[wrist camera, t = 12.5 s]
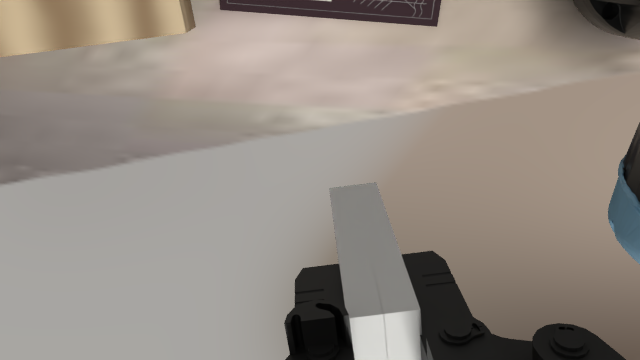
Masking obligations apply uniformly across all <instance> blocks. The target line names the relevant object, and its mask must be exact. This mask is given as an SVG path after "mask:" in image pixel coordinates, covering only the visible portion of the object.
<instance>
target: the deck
mask: <svg viewBox="0 0 640 360" xmlns="http://www.w3.org/2000/svg"><path fill="white" fill-rule="evenodd" d="M195 27H196V26H195V21H194V17H193V12H192V7H191V2H190V0H0V57H5V56H13V55H21V54H28V53H36V52H44V51H52V50H59V49H67V48H75V47H82V46H90V45H98V44H105V43H113V42H121V41H128V40H136V39H144V38H151V37H159V36H167V35H174V34H182V33H187V32H188V31H190V30H191V29H193V28H195Z"/></svg>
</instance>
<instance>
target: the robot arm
mask: <svg viewBox="0 0 640 360" xmlns="http://www.w3.org/2000/svg"><path fill="white" fill-rule="evenodd" d="M573 2H574V4H575V6H576V7H577V8H578V10H579V11H580V12H581V14H582V15H583V16H584V17H585V18H586V19H587V20H588V21H590V22H591V23H592V24H593V25H595V26H596V27H598V28H600V29H602V30H604V31H606V32H608V33H611V34H615V35H619V36H623V37H628V38H632V39H639V40H640V0H573ZM618 176H619V177H618V180H617V183H616V186H615V189H614V192H613V195H612V198H611V201H610V204H609V208H608V219H609V223H610V225H611V228H612V230H613V231H614V233H615V236H616V239H617V240H618V241H619V243H620V244H621V245H622V247H623V248H624V249H625V250H626V251H627V252H628V254H629V255H631V257H632V258H633V259H634V260H636V261H637V262H638V263H639V264H640V123H639V125H638V127H637V130H636V133H635V135H634V137H633V139H632V142H631V144H630V147H629V149H628V152H627V154H626V155H625V157H624V158H623V159H622V160H621V162H620V164H619V168H618ZM330 197H331V205H332V214H333V222H334V229H335V238H336V245H337V253H338V262H339V264H333V265H325V266H317V267H309V268H303V269H302V270H301V272H300V273H299V275H298V276H297V278H296V279H295V308H293V310H292V311H291V312H290V313H289V314H288V315H287V317H286V320H285V323H284V324H285V329H286V334H287V340H288V345H289V351H290V355H289V356H288V357H287V358H286V360H626V359H625V358H623V357H622V356H621V355H620V354H619V353H617V352H616V351H615V350H614V349H613V348H611V347H610V346H609V345H607V344H606V343H605V342H604V341H603V340H601V339H600V338H599V337H598V336H596V335H595V334H593V333H591V332H590V331H588V330H587V329H584V328H581V327H578V326H575V325H571V324H560V323H558V324H551V325H546V326H544V327H542V328H540V329H538V330H537V331H536V333H535V334H534V336H533V341H524V340H514V339H508V338H502V337H499V336H496V335H494V334H491V332H490V331H489V329H488V328H487V327H486V326H485V325H484V323H482V322H481V321H479V320H477V319H475V318H474V317H473V316H472V314H471V312H470V310H469V308H468V306H467V304H466V302H465V300H464V298H463V296H462V294H461V292H460V290H459V288H458V286H457V284H456V283H455V280H454V277H453V275H452V274H451V271H450V269H449V267H448V266H447V263H446V261H445V260H444V259H443V258H442V257H440V256H439V255H438V254H436V253H435V252H433V251H427V252H420V253H411V254H402V255H401V252H400V250H399V247H398V244H397V241H396V238H395V235H394V232H393V230H392V227H391V224H390V221H389V218H388V215H387V212H386V210H385V206H384V204H383V201H382V198H381V195H380V192H379V189H378V186H377V184H376V183H367V184H360V185H352V186H344V187H336V188H330Z"/></svg>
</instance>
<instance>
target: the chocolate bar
mask: <svg viewBox="0 0 640 360" xmlns="http://www.w3.org/2000/svg"><path fill="white" fill-rule="evenodd" d="M440 4H441V0H220V10H230V11H243V12H256V13H269V14H282V15H295V16H307V17H320V18H333V19H346V20H359V21H372V22H385V23H397V24H410V25H423V26H436V27H437V23H438V17H439V11H440Z"/></svg>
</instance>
